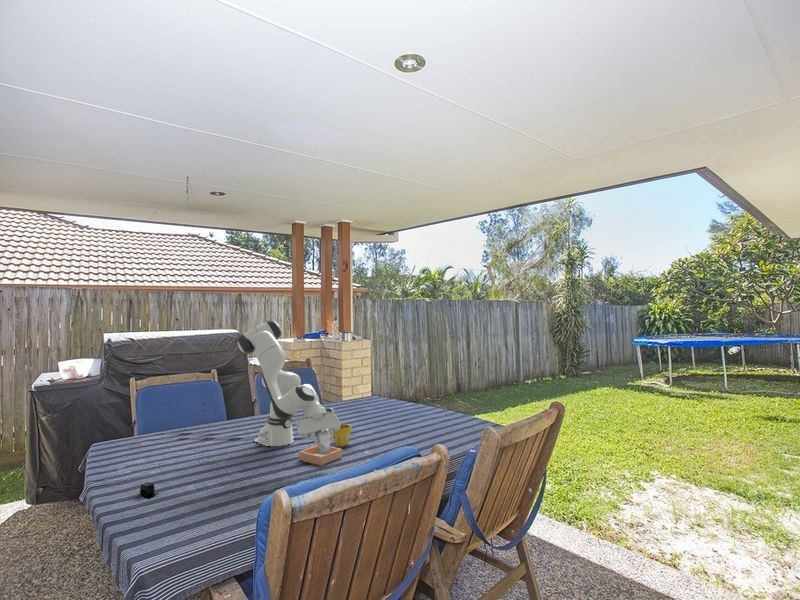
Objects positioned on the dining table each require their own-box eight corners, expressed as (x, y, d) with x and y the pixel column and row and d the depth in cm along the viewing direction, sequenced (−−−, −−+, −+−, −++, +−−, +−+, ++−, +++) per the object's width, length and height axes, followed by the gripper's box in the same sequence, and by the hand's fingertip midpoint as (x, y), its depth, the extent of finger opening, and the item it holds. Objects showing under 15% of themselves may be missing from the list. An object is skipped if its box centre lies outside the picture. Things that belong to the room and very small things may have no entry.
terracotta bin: (298, 459, 212) (299, 451, 212) (320, 452, 224) (320, 444, 224) (321, 465, 204) (321, 456, 204) (342, 457, 216) (342, 449, 216)
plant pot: (333, 448, 231) (333, 429, 231) (330, 442, 241) (330, 424, 241) (352, 446, 234) (352, 427, 234) (349, 441, 243) (349, 423, 244)
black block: (166, 495, 171) (166, 483, 171) (149, 502, 165) (149, 490, 165) (144, 490, 176) (145, 478, 176) (127, 497, 170) (127, 485, 170)
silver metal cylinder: (314, 453, 199) (314, 429, 199) (323, 450, 204) (323, 426, 204) (324, 455, 196) (324, 431, 196) (333, 452, 201) (333, 428, 201)
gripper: (296, 414, 199) (305, 441, 191) (336, 408, 212) (346, 433, 204) (292, 422, 203) (301, 449, 195) (331, 416, 215) (341, 440, 207)
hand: (324, 441), depth 199 cm, fingers closed on silver metal cylinder, 6 cm apart
